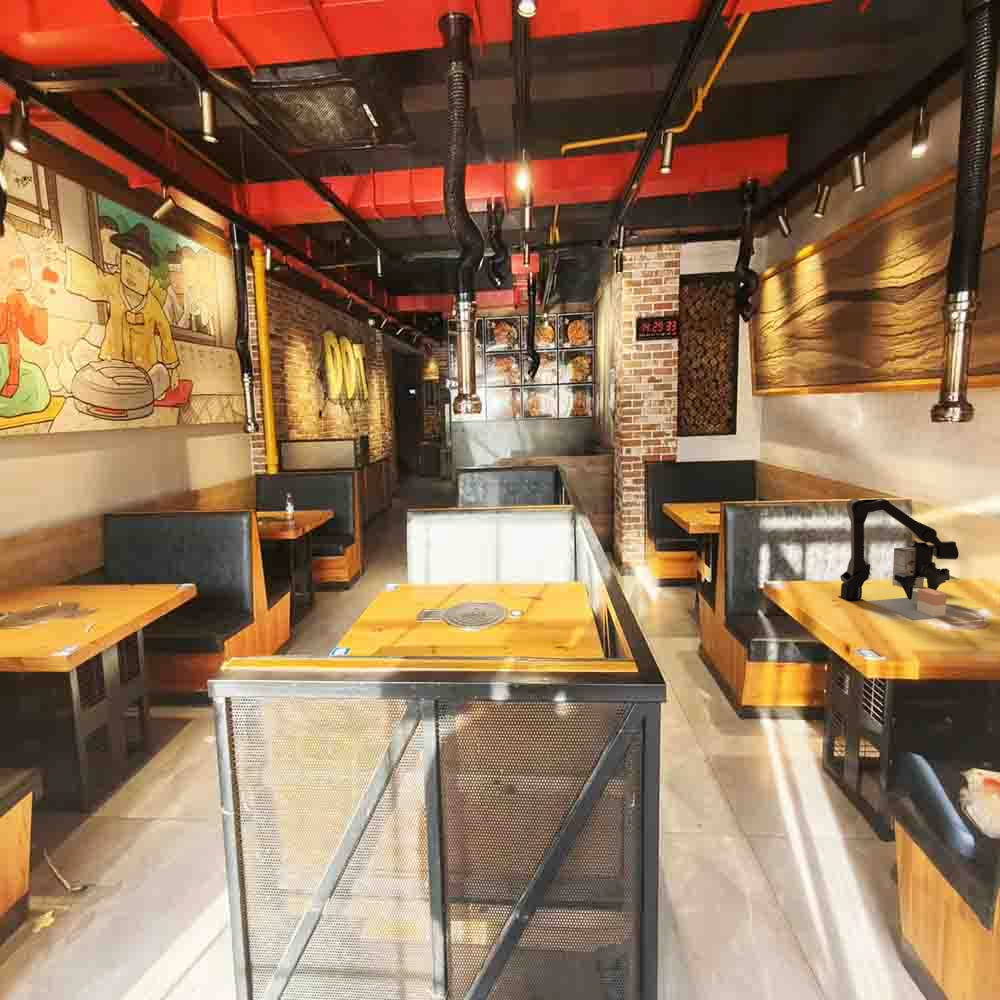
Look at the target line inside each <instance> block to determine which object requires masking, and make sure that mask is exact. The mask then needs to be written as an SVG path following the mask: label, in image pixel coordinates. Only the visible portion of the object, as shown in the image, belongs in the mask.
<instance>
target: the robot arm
mask: <svg viewBox="0 0 1000 1000" xmlns="http://www.w3.org/2000/svg"><path fill="white" fill-rule="evenodd" d="M846 511H847V515H848V518H849V520H850V559H849V561H848V564H847V569H846V571H845V572H844V573H842V574H841V575H840V576H839V578H840V580H841V582H842V583H841V584H840V585H841V587H840V595H838V596H837V598H839V599H841V600H843V601H846V602H849V603H850V602H861V601H862V602H863V601H864V599H863V596H862V595H863V585H864V583H865V582H866V581H868V580H869V577H870V576H871V575H872V573H871V564H870V563H868V561H866V560H865V522H866V520H867V518H868V514H869V513H875V512H877V511H883V512H884V513H885V514H887V515H888V516H889V517H891V518H892V519H894V521H896V522H898V523H899V524H901V525H902V526H904V527H905V528H906V529H907V530H908V532H909V533H910V535H911V534H912V536H913V537H914V538H916V539H917V540H919V541H921V542H919V541H917V540H915V539H914V540H912V541H911V542H909V543H908V544H907V545H908V546H909V547H913V548H915V549H914V560H911V563H913V570H910V573H912V574H913V575H911V574H908V573H905V572H903V573H896V574H895V575H894V580H896V581H897V582H900V584H901V586H902V587H903V588H902V587H901V588H902V589H903V591H904V592H905V595H906V598H907V597H908V599H910V600H911V599H912V592H913V589H914V588H915V587H914V586H915V585H916V584H915V583H914V582H915V581H916V579H924V580H926V583H927V589H928V588H930V589H933V590H936V591H938V588H939V587H940V586H941V585H942V584H944V583H947V582H948V581H950V576H951V575H950V569H948V568H947V567H946V568H937V567H936V566H937V565H936V562H933V557H934V558H936V559H937V560H955V561H956V560H958V558H959V555H960V552H959V549H958V546H957V542H956V541H954V540H952V541H950V540H948V541H941V540H940V539H939V537H938V533H937V530H935V528H932V527H930V526H928V525H926V524H924V523H922V522H920V521H917V520H916V519H914V518H913V517H911V516H910V515H908V514H907V513H905V512H904V511H902V510H901V509H900V508H898V507H896V505H894V504H892V503H891V502H890V501H889V500H887V499H885V498H883V497H879V498H874V499H872V498H871V499H866V498H865V499H859V498H851V499H849V500H848V501H847V503H846ZM928 543H929V544H928ZM918 576H919V577H918ZM864 602H865V601H864Z"/></svg>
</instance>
